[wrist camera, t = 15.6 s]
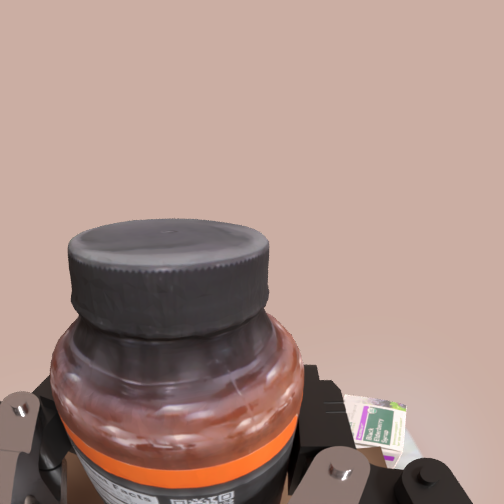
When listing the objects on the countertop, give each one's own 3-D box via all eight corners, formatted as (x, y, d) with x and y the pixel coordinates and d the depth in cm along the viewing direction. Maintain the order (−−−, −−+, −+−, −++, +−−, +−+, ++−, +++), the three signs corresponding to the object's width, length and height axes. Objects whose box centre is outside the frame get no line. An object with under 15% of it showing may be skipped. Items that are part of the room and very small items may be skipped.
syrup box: (352, 535, 19) (409, 452, 16) (296, 523, 21) (327, 437, 18) (364, 495, 24) (411, 402, 21) (313, 485, 26) (343, 390, 23)
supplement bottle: (201, 451, 13) (195, 207, 10) (303, 517, 9) (376, 238, 6) (97, 504, 8) (7, 227, 6) (194, 605, 5) (71, 333, 2)
